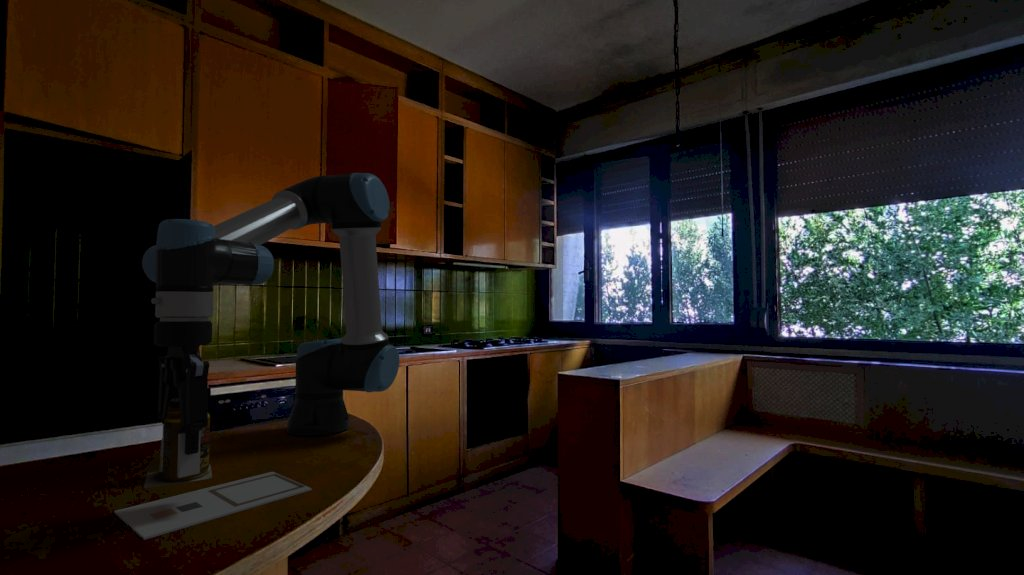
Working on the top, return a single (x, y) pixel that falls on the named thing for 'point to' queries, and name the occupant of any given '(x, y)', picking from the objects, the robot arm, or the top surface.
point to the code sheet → (207, 504)
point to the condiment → (171, 452)
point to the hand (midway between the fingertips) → (180, 469)
